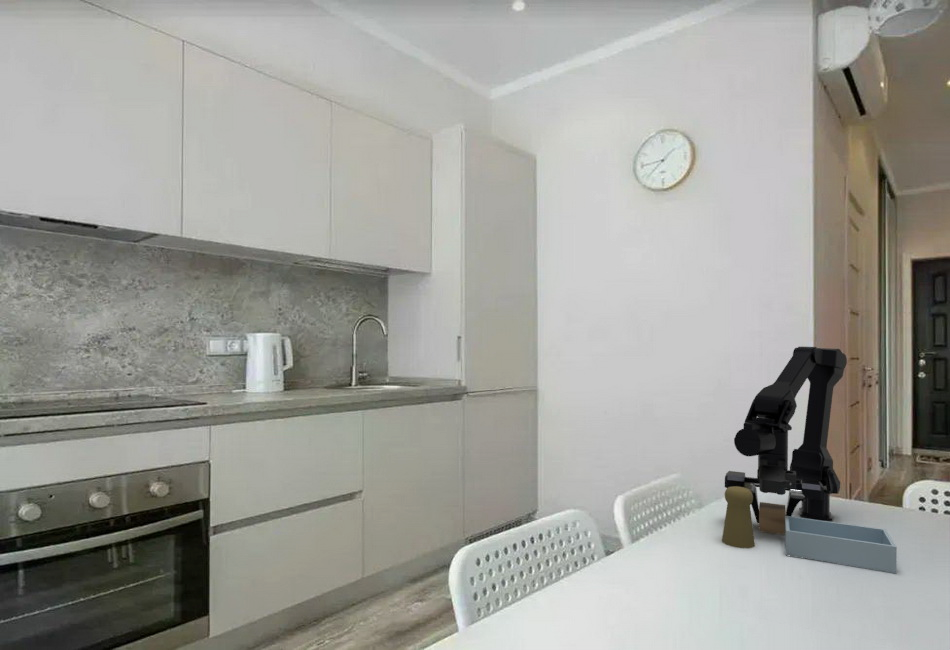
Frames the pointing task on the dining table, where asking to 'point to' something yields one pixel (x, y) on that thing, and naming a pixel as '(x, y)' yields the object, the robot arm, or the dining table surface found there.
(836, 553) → the tote
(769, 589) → the dining table surface
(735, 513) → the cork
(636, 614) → the dining table surface
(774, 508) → the walnut cube
